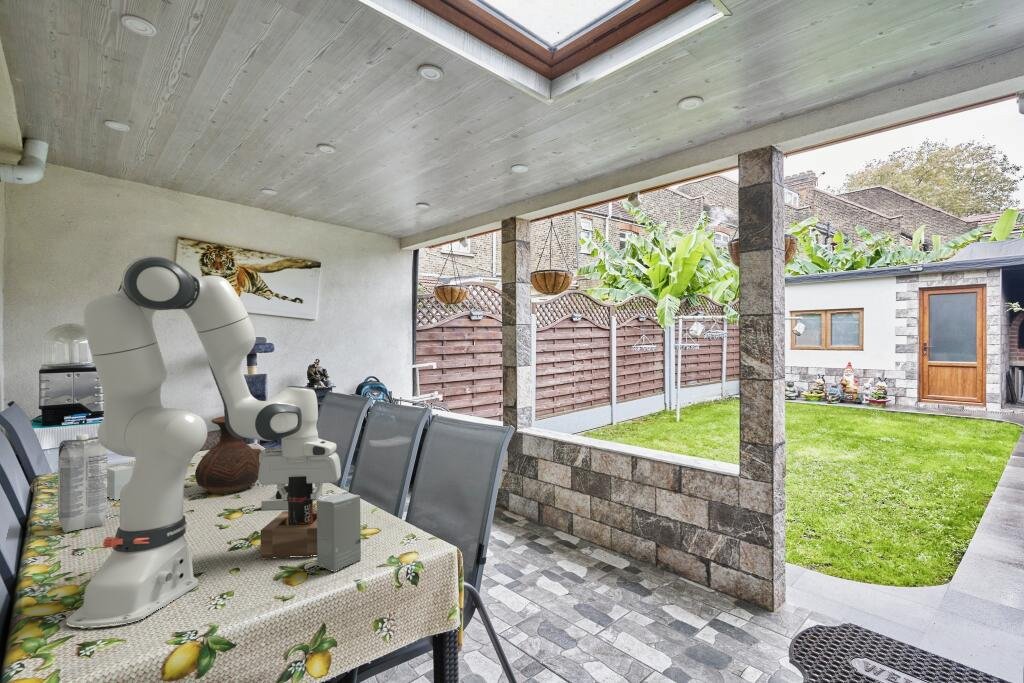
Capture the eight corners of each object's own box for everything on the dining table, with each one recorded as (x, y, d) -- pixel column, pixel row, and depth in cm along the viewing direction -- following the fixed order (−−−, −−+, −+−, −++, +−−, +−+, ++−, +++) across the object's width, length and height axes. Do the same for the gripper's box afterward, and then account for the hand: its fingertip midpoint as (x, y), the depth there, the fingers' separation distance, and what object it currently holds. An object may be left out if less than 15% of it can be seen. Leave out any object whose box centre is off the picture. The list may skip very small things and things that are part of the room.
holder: (318, 556, 119) (318, 528, 119) (260, 558, 118) (260, 530, 118) (335, 534, 133) (335, 509, 133) (283, 536, 132) (283, 511, 132)
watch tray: (307, 508, 155) (307, 499, 155) (261, 510, 154) (261, 501, 154) (322, 495, 170) (322, 486, 170) (280, 496, 169) (280, 488, 169)
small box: (133, 497, 171) (133, 467, 171) (114, 501, 166) (114, 470, 166) (124, 493, 175) (124, 464, 175) (105, 497, 170) (105, 468, 170)
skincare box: (334, 573, 109) (333, 504, 110) (314, 566, 113) (314, 499, 114) (363, 559, 117) (362, 494, 117) (343, 553, 120) (343, 490, 121)
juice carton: (108, 525, 142) (108, 434, 143) (59, 535, 134) (60, 439, 135) (103, 518, 148) (104, 431, 149) (57, 528, 140) (57, 435, 141)
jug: (242, 498, 168) (241, 412, 168) (181, 498, 168) (181, 413, 169) (273, 481, 190) (273, 405, 190) (219, 481, 190) (219, 405, 190)
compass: (301, 500, 164) (301, 479, 165) (295, 508, 157) (295, 485, 157) (276, 502, 163) (276, 480, 163) (268, 509, 155) (268, 487, 155)
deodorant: (303, 537, 122) (303, 478, 122) (283, 535, 123) (282, 477, 123) (317, 528, 128) (317, 472, 128) (298, 526, 129) (297, 471, 129)
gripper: (253, 450, 122) (253, 505, 122) (335, 448, 123) (335, 502, 123) (264, 445, 128) (264, 497, 128) (342, 443, 130) (342, 495, 129)
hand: (300, 500), depth 125 cm, fingers closed on deodorant, 6 cm apart
